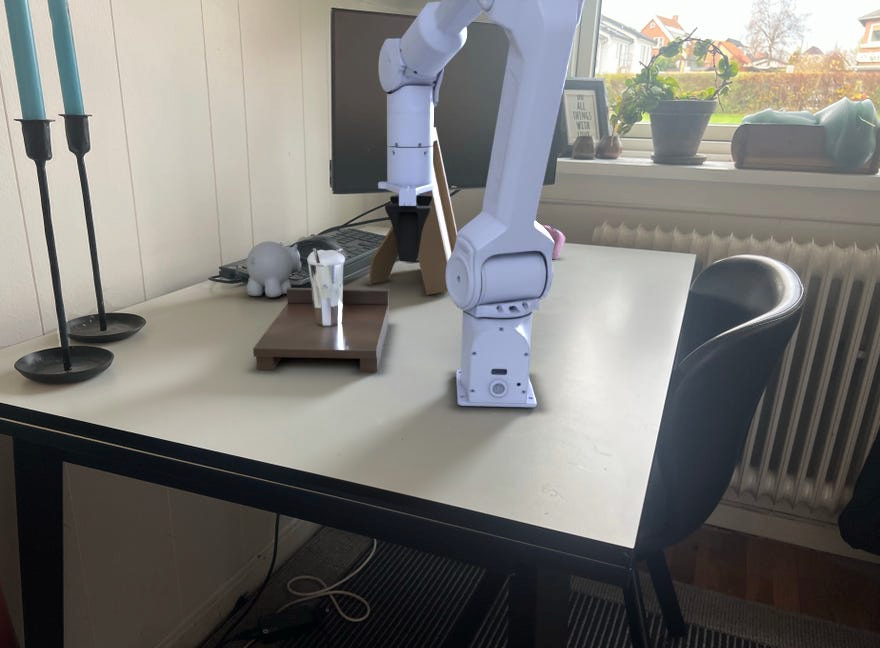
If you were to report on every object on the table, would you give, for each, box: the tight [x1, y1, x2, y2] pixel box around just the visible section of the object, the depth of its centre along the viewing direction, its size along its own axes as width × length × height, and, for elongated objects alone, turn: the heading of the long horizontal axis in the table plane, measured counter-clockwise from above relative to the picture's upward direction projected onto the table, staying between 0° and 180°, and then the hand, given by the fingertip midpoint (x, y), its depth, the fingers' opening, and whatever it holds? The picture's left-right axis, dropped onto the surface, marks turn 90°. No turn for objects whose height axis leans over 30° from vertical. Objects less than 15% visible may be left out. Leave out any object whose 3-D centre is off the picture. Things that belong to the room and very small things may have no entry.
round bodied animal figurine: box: [245, 241, 302, 298], centre depth 114 cm, size 7×12×8 cm, turn 152°
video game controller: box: [540, 224, 566, 260], centre depth 143 cm, size 10×5×7 cm, turn 58°
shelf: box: [252, 287, 390, 373], centre depth 89 cm, size 20×14×5 cm
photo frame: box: [368, 126, 458, 296], centre depth 120 cm, size 15×22×25 cm
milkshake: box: [306, 247, 346, 326], centre depth 87 cm, size 4×5×10 cm
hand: (409, 254), depth 92 cm, fingers open, 7 cm apart
